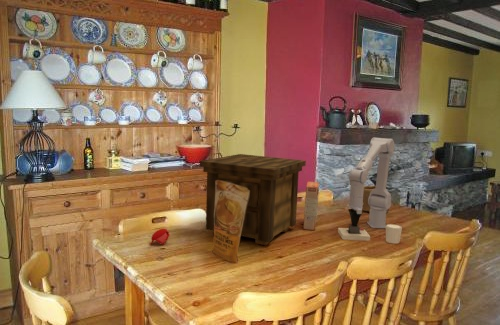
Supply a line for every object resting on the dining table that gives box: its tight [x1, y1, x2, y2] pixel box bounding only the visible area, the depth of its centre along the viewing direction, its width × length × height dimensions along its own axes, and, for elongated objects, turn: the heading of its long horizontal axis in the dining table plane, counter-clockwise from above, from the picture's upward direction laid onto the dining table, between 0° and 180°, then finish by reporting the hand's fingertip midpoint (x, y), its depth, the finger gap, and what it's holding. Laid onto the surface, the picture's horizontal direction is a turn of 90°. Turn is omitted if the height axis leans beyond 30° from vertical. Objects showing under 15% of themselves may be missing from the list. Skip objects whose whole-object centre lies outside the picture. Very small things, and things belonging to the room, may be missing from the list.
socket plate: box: [337, 227, 371, 242], centre depth 182 cm, size 11×12×3 cm
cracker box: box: [302, 181, 320, 231], centre depth 194 cm, size 14×6×21 cm, turn 168°
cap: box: [150, 228, 170, 246], centre depth 163 cm, size 8×6×6 cm
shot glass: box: [385, 223, 403, 245], centre depth 176 cm, size 7×7×7 cm
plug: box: [348, 223, 361, 234], centre depth 182 cm, size 4×4×5 cm
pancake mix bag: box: [212, 180, 250, 264], centre depth 150 cm, size 7×19×28 cm, turn 38°
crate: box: [199, 153, 307, 246], centre depth 181 cm, size 35×35×33 cm
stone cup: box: [362, 185, 390, 214], centre depth 226 cm, size 15×12×15 cm
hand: (354, 225), depth 181 cm, fingers closed
